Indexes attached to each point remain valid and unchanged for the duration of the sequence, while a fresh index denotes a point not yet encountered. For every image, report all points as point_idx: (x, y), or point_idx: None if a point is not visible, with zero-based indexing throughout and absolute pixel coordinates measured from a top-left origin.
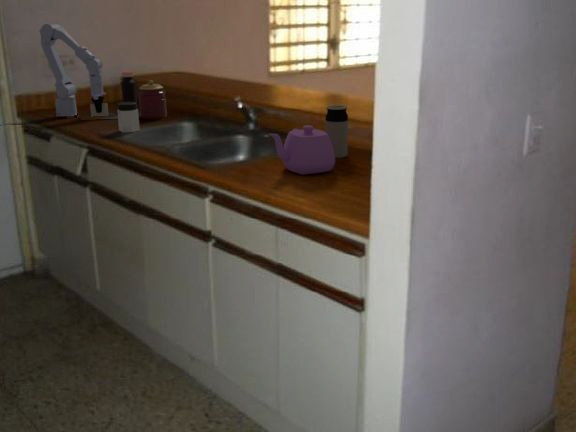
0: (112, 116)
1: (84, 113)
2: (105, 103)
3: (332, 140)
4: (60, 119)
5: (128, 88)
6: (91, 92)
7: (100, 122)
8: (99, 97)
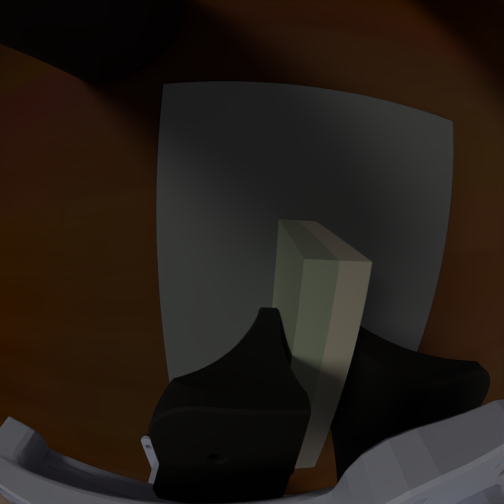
0: (352, 175)
1: (98, 404)
2: (326, 297)
3: None
4: (288, 486)
5: None
6: None
7: (499, 272)
8: (289, 475)
